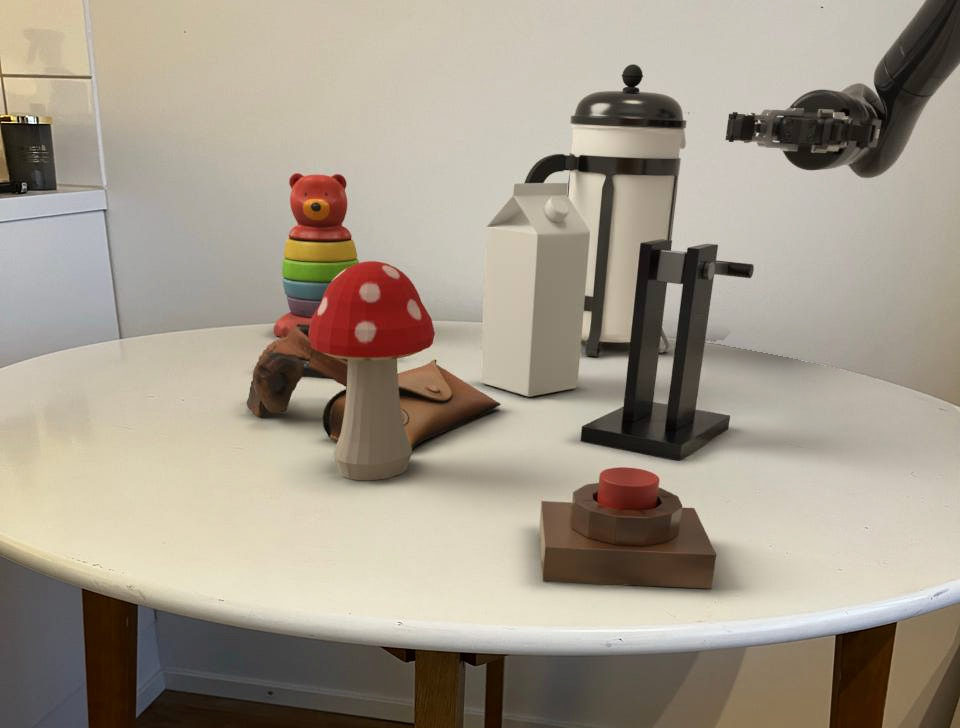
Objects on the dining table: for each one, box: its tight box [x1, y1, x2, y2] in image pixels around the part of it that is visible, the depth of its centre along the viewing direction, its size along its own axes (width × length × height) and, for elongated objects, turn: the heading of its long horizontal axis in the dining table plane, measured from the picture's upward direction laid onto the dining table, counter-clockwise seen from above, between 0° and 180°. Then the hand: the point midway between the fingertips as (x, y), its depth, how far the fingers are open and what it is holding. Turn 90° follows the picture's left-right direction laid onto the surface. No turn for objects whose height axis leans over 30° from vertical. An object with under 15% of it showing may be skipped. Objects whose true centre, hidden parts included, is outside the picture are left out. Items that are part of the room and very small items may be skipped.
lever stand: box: [580, 239, 731, 461], centre depth 86 cm, size 12×9×16 cm
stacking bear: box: [273, 172, 360, 338], centre depth 121 cm, size 11×10×18 cm
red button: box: [597, 466, 660, 511], centre depth 62 cm, size 4×4×2 cm
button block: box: [538, 482, 717, 590], centre depth 63 cm, size 10×8×4 cm
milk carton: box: [480, 182, 590, 398], centre depth 99 cm, size 7×7×19 cm
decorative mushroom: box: [308, 260, 436, 481], centre depth 74 cm, size 10×9×15 cm
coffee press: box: [524, 63, 688, 358], centre depth 116 cm, size 17×16×30 cm
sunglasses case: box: [322, 359, 502, 449], centre depth 89 cm, size 18×7×7 cm
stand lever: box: [656, 250, 755, 285], centre depth 87 cm, size 14×5×2 cm, turn 148°
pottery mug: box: [246, 326, 348, 418], centre depth 90 cm, size 12×10×8 cm
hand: (781, 129), depth 96 cm, fingers open, 8 cm apart
